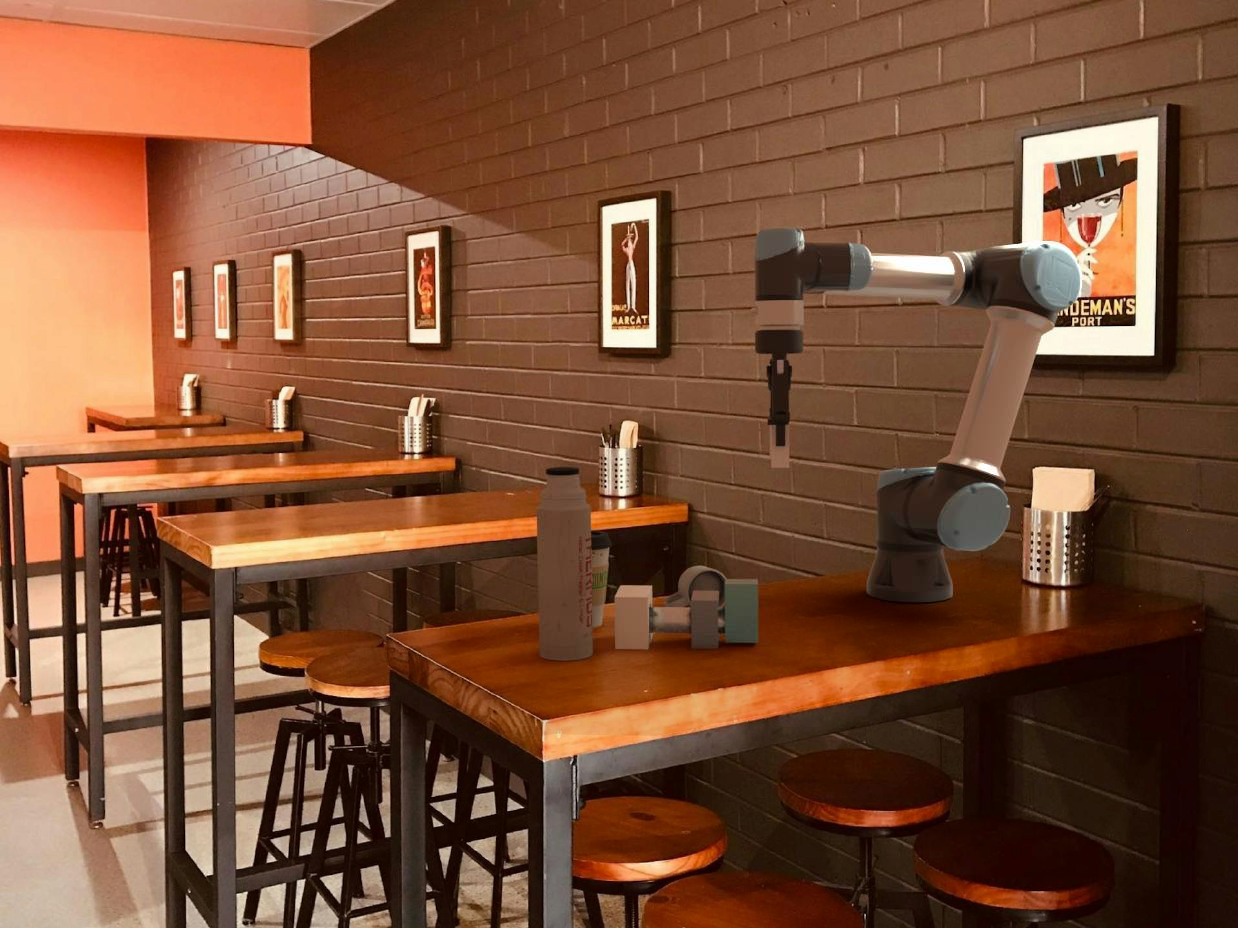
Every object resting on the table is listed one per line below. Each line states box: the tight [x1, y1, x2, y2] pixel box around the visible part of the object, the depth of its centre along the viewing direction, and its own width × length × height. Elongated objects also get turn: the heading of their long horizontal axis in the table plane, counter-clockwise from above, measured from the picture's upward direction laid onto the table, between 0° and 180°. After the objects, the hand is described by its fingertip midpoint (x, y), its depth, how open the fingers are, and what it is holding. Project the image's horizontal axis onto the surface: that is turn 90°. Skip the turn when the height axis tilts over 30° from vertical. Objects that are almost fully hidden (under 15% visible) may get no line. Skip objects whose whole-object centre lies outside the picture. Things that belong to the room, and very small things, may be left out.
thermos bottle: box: [536, 466, 594, 662], centre depth 188 cm, size 8×8×28 cm
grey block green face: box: [649, 578, 759, 644], centre depth 195 cm, size 20×4×9 cm, turn 84°
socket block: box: [614, 584, 654, 650], centre depth 196 cm, size 5×9×8 cm, turn 174°
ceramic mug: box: [662, 565, 727, 608], centre depth 219 cm, size 11×8×8 cm
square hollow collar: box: [690, 591, 720, 650], centre depth 195 cm, size 4×7×7 cm, turn 174°
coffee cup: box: [591, 529, 613, 629], centre depth 209 cm, size 10×10×15 cm
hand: (779, 463), depth 201 cm, fingers open, 13 cm apart
